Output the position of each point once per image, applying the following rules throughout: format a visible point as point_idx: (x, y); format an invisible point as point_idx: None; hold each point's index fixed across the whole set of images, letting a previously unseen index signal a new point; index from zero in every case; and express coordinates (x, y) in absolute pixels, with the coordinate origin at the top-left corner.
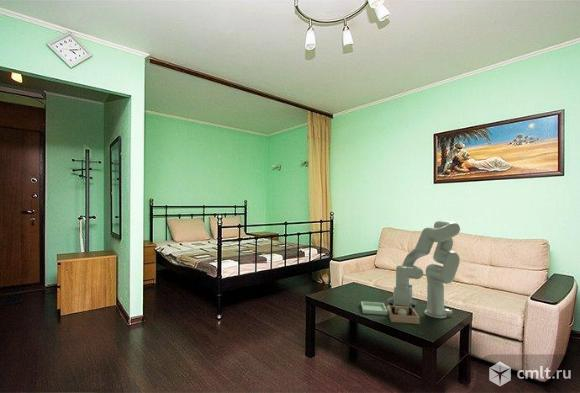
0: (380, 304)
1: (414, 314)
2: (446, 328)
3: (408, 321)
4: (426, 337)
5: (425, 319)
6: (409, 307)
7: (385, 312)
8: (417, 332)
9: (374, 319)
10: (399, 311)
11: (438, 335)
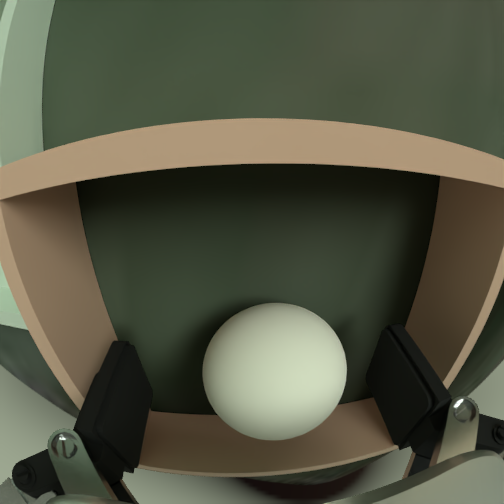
0: (3, 5)
1: (433, 348)
2: (481, 379)
3: None
4: (321, 477)
5: None
6: (430, 425)
7: None
8: None
9: (31, 380)
10: (222, 418)
11: None
